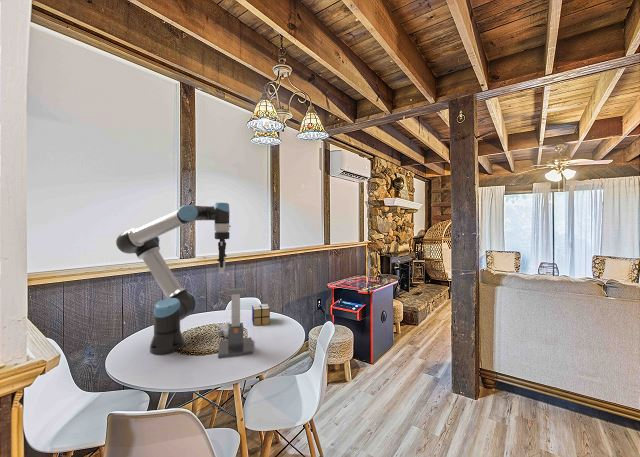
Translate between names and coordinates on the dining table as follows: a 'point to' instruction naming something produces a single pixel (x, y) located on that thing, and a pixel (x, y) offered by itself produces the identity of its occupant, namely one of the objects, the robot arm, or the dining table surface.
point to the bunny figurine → (223, 329)
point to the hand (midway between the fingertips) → (222, 271)
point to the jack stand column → (235, 306)
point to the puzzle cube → (260, 314)
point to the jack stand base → (235, 343)
